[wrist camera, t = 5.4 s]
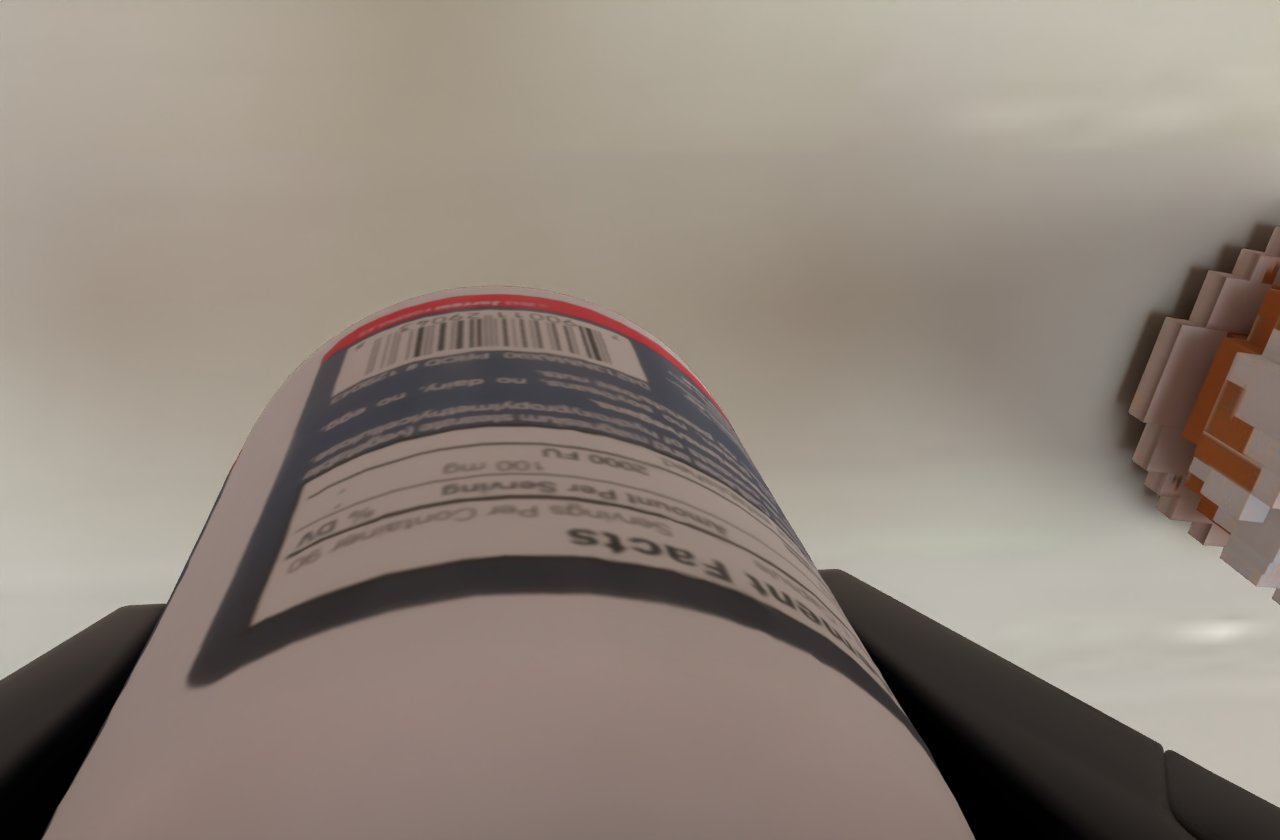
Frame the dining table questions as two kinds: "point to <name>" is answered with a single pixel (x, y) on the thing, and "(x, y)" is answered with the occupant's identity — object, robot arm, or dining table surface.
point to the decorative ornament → (1220, 416)
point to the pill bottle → (502, 615)
